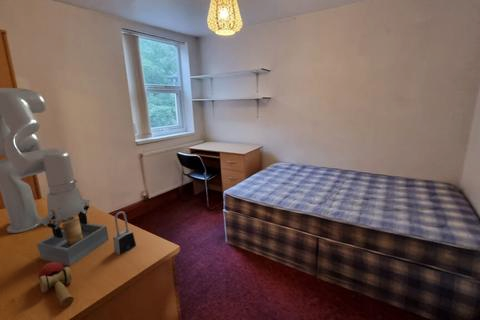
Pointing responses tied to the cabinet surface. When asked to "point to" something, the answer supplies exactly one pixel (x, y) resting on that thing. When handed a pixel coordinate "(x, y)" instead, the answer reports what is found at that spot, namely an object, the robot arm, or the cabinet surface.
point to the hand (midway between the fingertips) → (71, 230)
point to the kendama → (56, 281)
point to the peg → (72, 231)
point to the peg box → (60, 252)
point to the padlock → (123, 238)
